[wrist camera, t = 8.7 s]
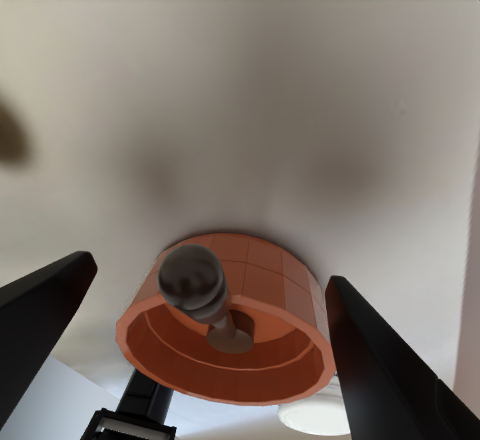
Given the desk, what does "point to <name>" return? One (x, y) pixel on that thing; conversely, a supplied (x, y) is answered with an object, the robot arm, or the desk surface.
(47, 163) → the desk surface
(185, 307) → the brown utensil
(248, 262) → the bowl
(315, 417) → the white round lid
